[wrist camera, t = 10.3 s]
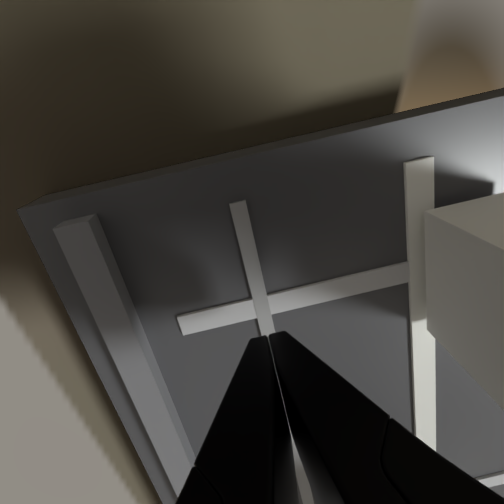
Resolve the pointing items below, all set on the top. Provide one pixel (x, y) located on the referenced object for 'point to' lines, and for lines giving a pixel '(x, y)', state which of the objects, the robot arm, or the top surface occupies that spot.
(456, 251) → the grey rectangular block
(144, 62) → the top surface
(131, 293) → the console
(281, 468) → the robot arm
